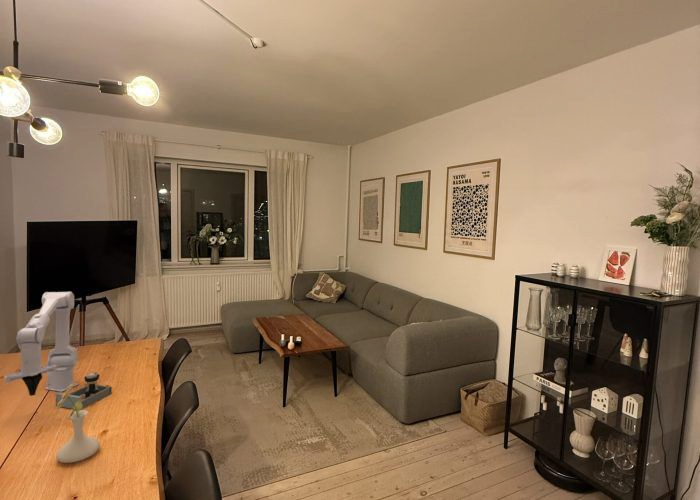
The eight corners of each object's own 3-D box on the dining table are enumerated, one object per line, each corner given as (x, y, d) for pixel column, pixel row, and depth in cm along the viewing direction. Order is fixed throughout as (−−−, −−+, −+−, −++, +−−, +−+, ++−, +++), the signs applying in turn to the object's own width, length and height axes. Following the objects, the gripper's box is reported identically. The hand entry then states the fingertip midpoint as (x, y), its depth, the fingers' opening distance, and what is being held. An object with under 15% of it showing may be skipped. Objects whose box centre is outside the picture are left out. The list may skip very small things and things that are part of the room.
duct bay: (59, 405, 148) (59, 397, 148) (91, 390, 162) (91, 383, 162) (81, 409, 146) (81, 401, 145) (111, 393, 159) (111, 386, 159)
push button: (79, 401, 152) (79, 378, 151) (81, 395, 156) (81, 373, 156) (99, 398, 155) (98, 375, 154) (100, 392, 159) (100, 370, 159)
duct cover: (55, 406, 147) (54, 394, 146) (58, 404, 148) (57, 392, 148) (78, 410, 145) (78, 397, 144) (81, 408, 146) (81, 396, 145)
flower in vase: (71, 444, 123) (70, 372, 121) (107, 444, 124) (106, 372, 122) (42, 470, 110) (40, 391, 108) (82, 470, 111) (81, 390, 109)
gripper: (7, 367, 128) (8, 405, 129) (58, 356, 139) (59, 391, 140) (3, 362, 132) (4, 398, 133) (53, 352, 144) (54, 385, 145)
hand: (32, 394), depth 137 cm, fingers closed
